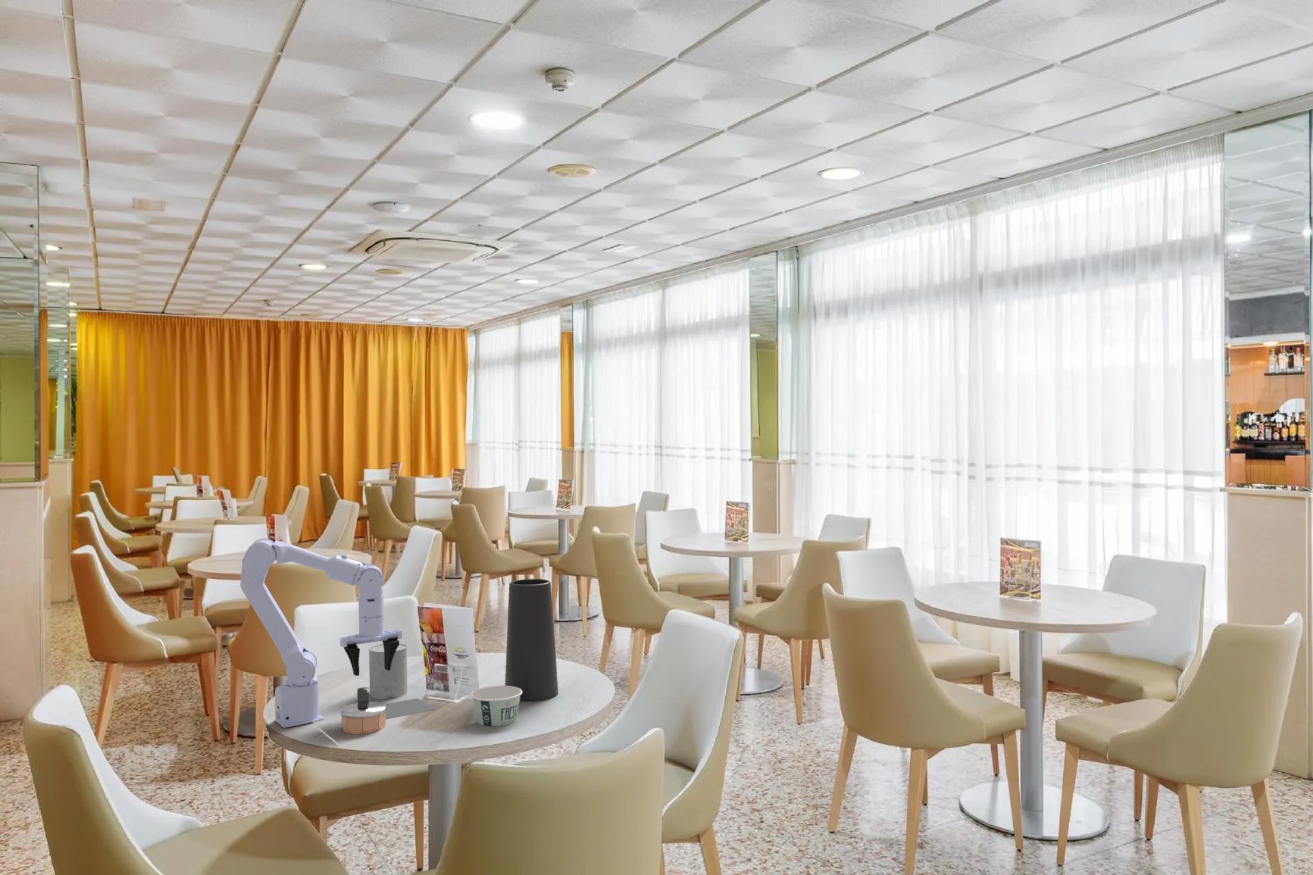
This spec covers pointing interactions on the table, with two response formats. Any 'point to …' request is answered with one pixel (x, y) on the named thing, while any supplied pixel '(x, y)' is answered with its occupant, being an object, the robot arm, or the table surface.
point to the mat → (406, 708)
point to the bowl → (363, 724)
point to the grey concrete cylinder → (388, 673)
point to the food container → (496, 705)
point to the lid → (363, 706)
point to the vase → (531, 640)
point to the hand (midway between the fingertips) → (372, 672)
